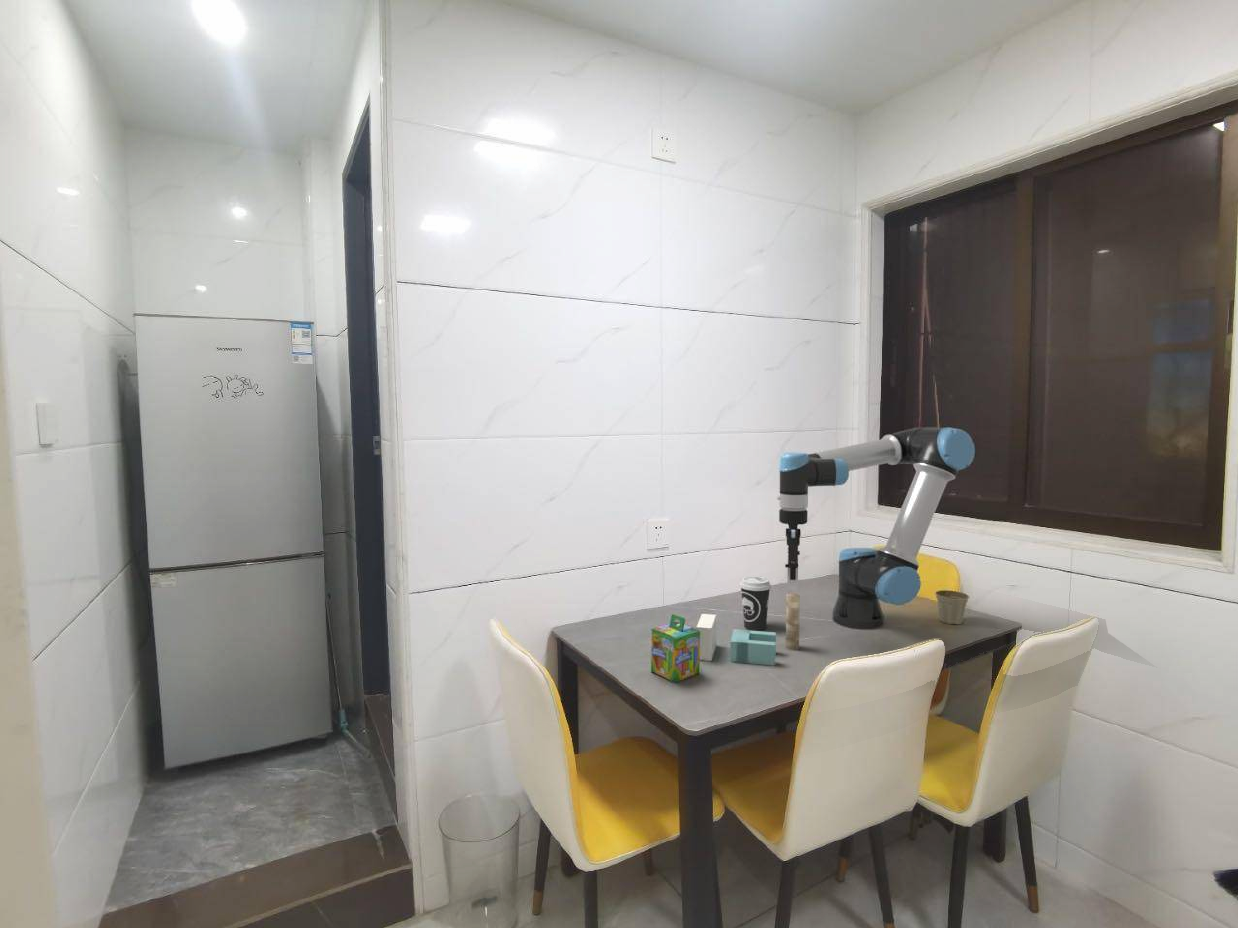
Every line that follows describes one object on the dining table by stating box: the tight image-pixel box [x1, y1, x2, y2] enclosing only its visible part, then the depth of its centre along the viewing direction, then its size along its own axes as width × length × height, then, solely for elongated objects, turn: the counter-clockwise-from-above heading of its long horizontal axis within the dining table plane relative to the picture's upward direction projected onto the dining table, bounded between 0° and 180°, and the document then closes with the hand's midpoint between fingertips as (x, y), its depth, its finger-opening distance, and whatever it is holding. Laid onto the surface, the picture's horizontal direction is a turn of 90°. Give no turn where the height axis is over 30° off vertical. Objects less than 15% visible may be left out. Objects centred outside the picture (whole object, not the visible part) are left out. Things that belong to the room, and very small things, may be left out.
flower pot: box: [934, 589, 970, 625], centre depth 190 cm, size 9×9×9 cm
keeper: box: [730, 628, 777, 666], centre depth 165 cm, size 12×9×6 cm
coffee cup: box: [739, 575, 772, 632], centre depth 187 cm, size 10×10×15 cm
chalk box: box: [650, 613, 701, 684], centre depth 155 cm, size 9×9×15 cm
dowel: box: [785, 593, 801, 651], centre depth 171 cm, size 4×4×15 cm
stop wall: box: [695, 613, 717, 662], centre depth 168 cm, size 4×11×9 cm, turn 165°
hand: (792, 584), depth 170 cm, fingers open, 13 cm apart
